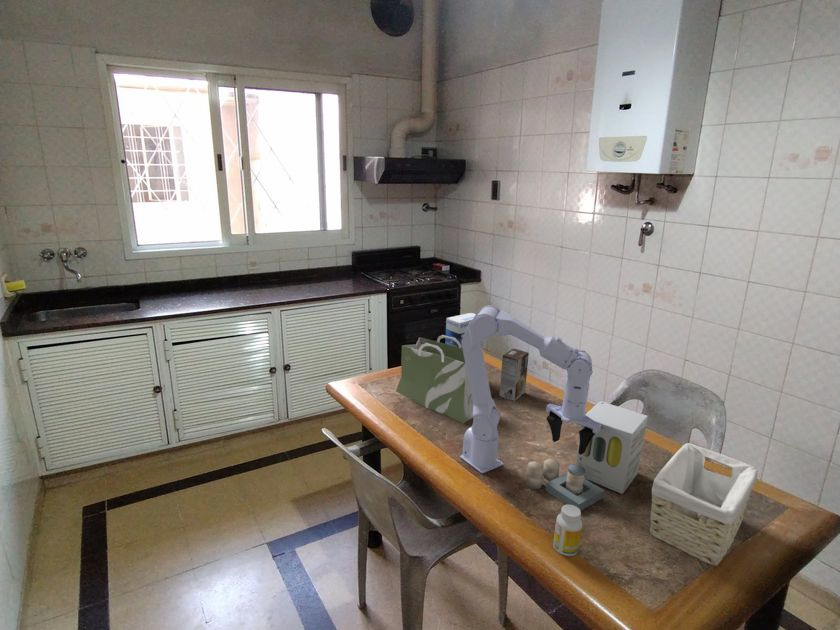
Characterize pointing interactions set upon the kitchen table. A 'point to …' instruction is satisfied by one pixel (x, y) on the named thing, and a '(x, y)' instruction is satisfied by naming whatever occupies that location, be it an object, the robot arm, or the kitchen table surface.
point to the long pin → (575, 479)
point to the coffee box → (513, 374)
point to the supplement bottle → (568, 530)
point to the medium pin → (534, 475)
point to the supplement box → (613, 446)
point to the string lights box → (457, 328)
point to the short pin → (551, 469)
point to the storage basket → (700, 502)
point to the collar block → (581, 501)
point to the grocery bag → (437, 378)
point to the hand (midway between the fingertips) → (568, 446)
